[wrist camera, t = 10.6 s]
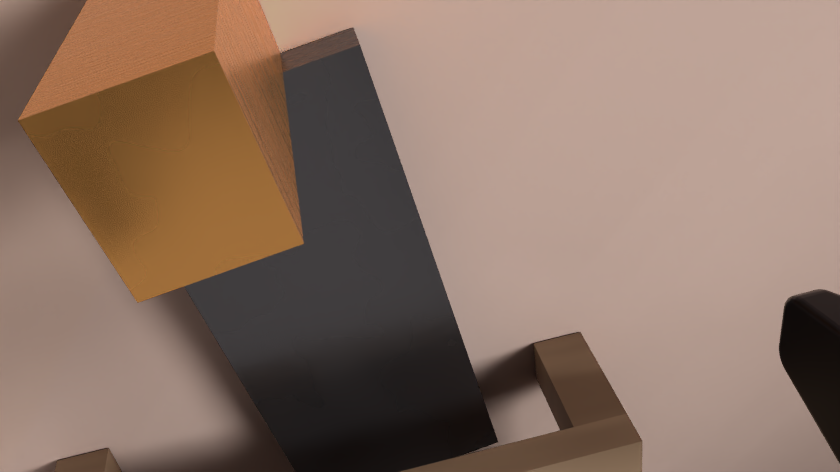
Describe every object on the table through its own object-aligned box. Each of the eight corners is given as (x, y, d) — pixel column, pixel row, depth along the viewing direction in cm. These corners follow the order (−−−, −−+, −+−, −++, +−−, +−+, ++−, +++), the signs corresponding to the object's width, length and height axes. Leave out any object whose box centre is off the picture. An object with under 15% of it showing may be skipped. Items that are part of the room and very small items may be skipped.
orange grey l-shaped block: (488, 414, 25) (575, 654, 19) (313, 476, 25) (339, 738, 19) (305, -109, 16) (351, 2, 9) (29, -11, 16) (-120, 169, 9)
